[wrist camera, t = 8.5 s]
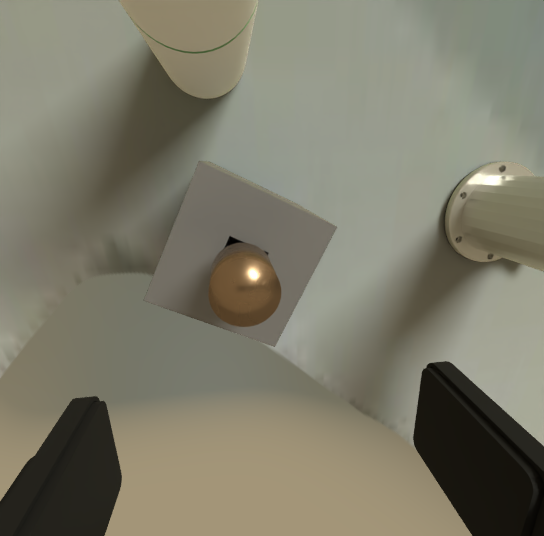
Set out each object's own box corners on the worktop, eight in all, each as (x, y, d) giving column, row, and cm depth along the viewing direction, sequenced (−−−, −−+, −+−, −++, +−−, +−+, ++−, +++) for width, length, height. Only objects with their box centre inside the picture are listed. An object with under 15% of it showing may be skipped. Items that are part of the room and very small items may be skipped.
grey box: (297, 203, 39) (337, 226, 25) (258, 284, 41) (274, 346, 27) (209, 161, 36) (199, 160, 22) (173, 250, 39) (143, 300, 25)
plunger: (280, 212, 38) (334, 260, 19) (252, 271, 39) (276, 369, 21) (217, 182, 36) (207, 203, 17) (190, 246, 37) (155, 328, 19)
